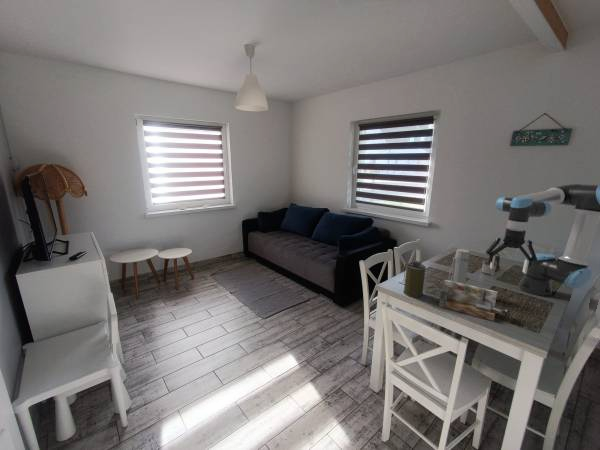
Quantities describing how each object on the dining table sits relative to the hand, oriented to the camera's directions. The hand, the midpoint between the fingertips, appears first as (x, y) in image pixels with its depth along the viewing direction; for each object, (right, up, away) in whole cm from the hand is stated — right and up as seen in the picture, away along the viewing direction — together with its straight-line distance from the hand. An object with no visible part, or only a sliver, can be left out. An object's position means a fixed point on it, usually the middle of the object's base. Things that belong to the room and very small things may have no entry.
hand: (507, 270), depth 133 cm
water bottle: (-9, -17, +29) cm, 34 cm away
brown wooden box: (-17, -21, +7) cm, 28 cm away
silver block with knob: (-8, -21, 0) cm, 23 cm away
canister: (-38, -18, +23) cm, 48 cm away
